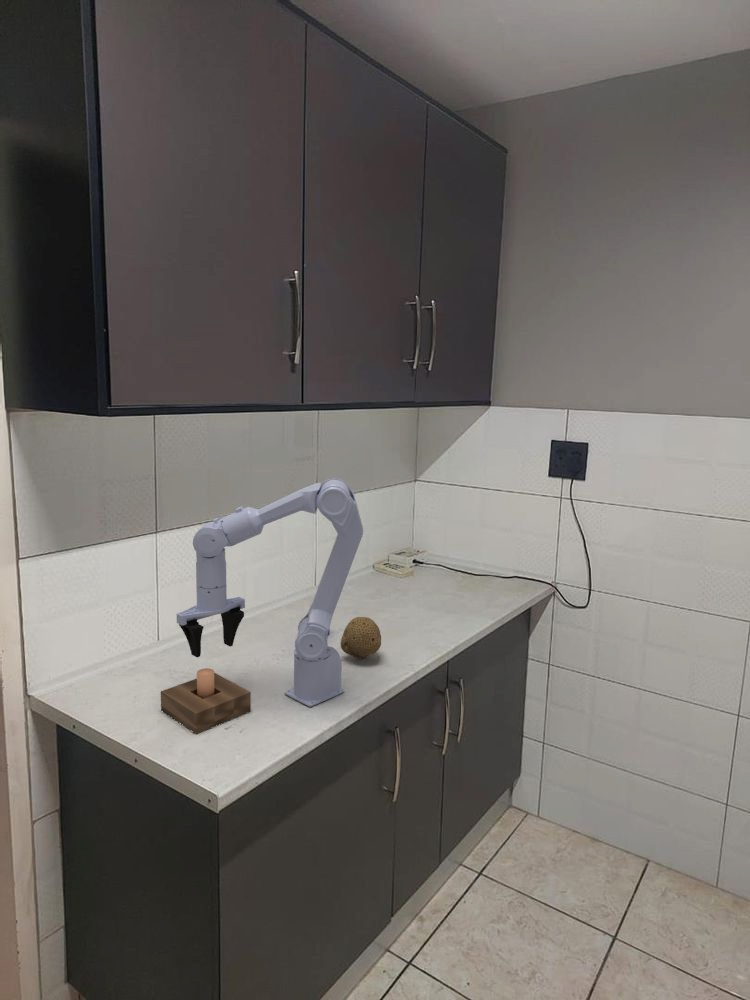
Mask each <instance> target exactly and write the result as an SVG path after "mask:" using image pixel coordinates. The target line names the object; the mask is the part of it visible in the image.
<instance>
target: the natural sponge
mask: <svg viewBox="0 0 750 1000" xmlns="http://www.w3.org/2000/svg"><path fill="white" fill-rule="evenodd" d="M381 645H382V633H381V630H380V628H379V625H378V624H377V623H376V622H375V621H374V619H371V617H366V616H356V617H354V618H352V619H351V620H349V622H348V623H347V625H346V626H345V628H344V631H343V634H342V636H341V639H340V648H341V650H342V651H343V652H344V653H345V654H348V655H349V656H351V657H353V658H355V659H357V660H364V659H367V657H369V656H372V655H374V654H376V653H377V652H378V651H379V650H380V648H381Z"/></svg>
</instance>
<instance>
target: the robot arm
mask: <svg viewBox="0 0 750 1000" xmlns="http://www.w3.org/2000/svg"><path fill="white" fill-rule="evenodd" d="M317 510H318V511H319V512H320V514H321V515H322V516H324V517H325V518H326V519H327V520H328V521H330V522H331V525H332V526H333V528H334V529H335V531H336V533H337V536H336V537H335V541H334V544H333V546H332V549H331V552H330V554H329V557H328V558H327V559H328V560H327V562H326V565H325V568H324V570H323V573H322V575H321V578H320V581H319V584H318V586H317V589H316V592H315V595H314V598H313V601H312V603H311V604H310V607H309V609H308V611H307V613H306V614H305V616H304V617H302V618H301V619H300V620H299V623H298V625H297V626H298V627H297V636H296V639H295V642H294V648H295V649H294V650H293V687H292V688H290V689H288V690H285V691H284V695H286V696H288V697H290V699H291V698H292V699H293V700H295V701H297V702H299V703H300V704H303V705H305V706H307V707H309V708H310V707H314V706H316V705H318V704H321V703H322V702H324V701H325V702H326V701H328V700H330V699H331V698H334V697H337V696H338V695H340V694H343V693H344V692H345V690H344V689H343V688H342V670H343V669H342V668H343V667H342V666H343V665H342V658H341V655H340V653H339V652H338V650H337V649H336V648H334V647H333V646H330V645H329V646H328V644H329V643H328V638H329V635H328V631H329V628H331V624H332V619H333V617H334V616H333V615H334V613H335V609H336V607H337V605H338V603H339V599H340V596H341V595H342V591H343V588H344V586H345V583H346V581H347V578H348V575H349V573H350V570H351V567H352V564H353V562H354V560H355V556H356V553H357V551H358V548H359V546H360V543H361V540H362V537H363V534H364V528H363V523H362V518H361V514H360V512H359V507H358V504H357V498H356V496H355V494H354V492H353V490H352V488H351V487H350V486H349V485H348V483H347V482H346V481H345V480H343V479H341V478H334V477H333V478H328V479H326V480H325V481H323V482H321V481H320V482H316V483H313V484H311V485H308V486H306V487H304V488H301V489H299V490H296V491H295V492H291V494H288V495H286V496H284V497H282V498H280V499H278V500H276V501H274V502H272V503H269V504H267V505H265V506H263V507H261V508H259V509H257V508H255V507H252V506H246V507H244V506H242V505H241V506H239V507H236V509H235V512H233V513H231V514H229V515H226V516H224V517H222V518H221V517H220V518H219V517H216V518H215V517H214V518H213V520H212V521H211V522H207V523H205V524H203V525H202V526H201V527H200V528H199V529H198V531H196V533H195V534H194V536H193V538H192V546H193V549H194V551H195V553H196V554H195V557H196V562H195V573H196V576H195V577H196V579H195V580H196V582H195V583H196V584H195V585H196V586H195V587H196V605H194V606H191V607H189V608H186V609H185V610H183V611H181V612H177V613H176V624H178V626H179V627H180V629H181V630H182V632H183V634H184V636H185V638H186V639H187V643H188V646H189V650H190V652H191V653H190V654H191V655H192V656H194V657H195V658H200V657H201V653H202V647H201V646H202V643H201V642H202V634H203V630H204V627H205V626H203V625H201V624H200V623H199V621H198V620H203V619H206V618H209V617H210V618H211V617H213V616H216V615H220V617H221V621H222V633H223V635H222V637H223V644H224V645H226V646H227V647H233V646H234V642H235V638H236V634H237V631H238V629H239V626H240V624H241V622H242V620H243V619H244V617H245V612H244V611H243V609H245V608H246V599H245V598H244V597H240V596H238V597H237V596H236V597H232V598H231V597H230V598H227V596H228V595H227V561H226V548H225V547H233V546H235V545H238V544H240V543H243V542H245V541H248V540H249V539H251V538H255V537H257V536H259V535H261V533H262V532H263V529H264V526H266V525H267V524H270V523H273V522H275V521H277V520H281V519H283V518H286V517H288V516H291V515H293V514H296V513H298V512H301V511H303V512H306V513H309V514H313V515H316V514H317Z"/></svg>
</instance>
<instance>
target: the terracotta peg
mask: <svg viewBox="0 0 750 1000" xmlns="http://www.w3.org/2000/svg"><path fill="white" fill-rule="evenodd" d="M214 673H215V670H214V669H212V668H210V667H209V668H208V667H207V668H201V669H198V670H197V671H196V679H197V696H198V697H200V698H202V699H204V698H207V697H209V696H212V695H214Z"/></svg>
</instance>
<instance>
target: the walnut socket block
mask: <svg viewBox="0 0 750 1000" xmlns="http://www.w3.org/2000/svg"><path fill="white" fill-rule="evenodd" d="M251 693H252V692H251V691H249V690H247V689H245V687H242V686H240V685H238V684H237V683H235V682H233V681H231V680H229V679H227V678H225V677H224V676H222V675H220V674H218V673H216V672H214V695H212V696H209V697H207V698H204V699H202V698H200V697H198V696H197V678H195V679H191V680H189V681H186V682H183V683H181V684H176V685H174V686H171V687H168V688H166V689H164V690H161V691H160V710H161V712H162V711H163V712H162V713H164V714H165V713H166V714H165V715H167V716H168V715H169V716H168V717H170V718H171V717H172V718H171V719H173V720H174V719H175V720H174V721H175V722H177V721H178V722H177V723H179V722H180V723H181V724H180V723H179V724H180V725H182V724H183V725H184V726H183V725H182V726H183V727H185V726H186V727H187V728H186V727H185V728H186V729H188V730H189V729H190V730H189V731H191V730H192V731H193V732H192V731H191V732H192V733H194V732H195V733H196V734H195V733H194V734H195V735H198V734H201V733H203V732H205V731H204V730H206V729H208V730H210V729H212V728H211V727H213V726H215V727H217V726H220V725H222V724H224V722H225V723H227V722H230V721H232V720H234V719H237V718H238V717H241V716H244V715H246V714H248V713H251V712H252V709H251V708H252V705H251V704H252V703H251V701H252V700H251V698H252V697H251ZM243 714H244V715H243ZM221 723H222V724H221ZM219 724H220V725H219ZM216 725H217V726H216ZM209 728H210V729H209ZM213 728H214V727H213ZM202 731H203V732H202ZM206 731H207V730H206ZM200 732H201V733H200ZM197 733H198V734H197Z"/></svg>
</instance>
